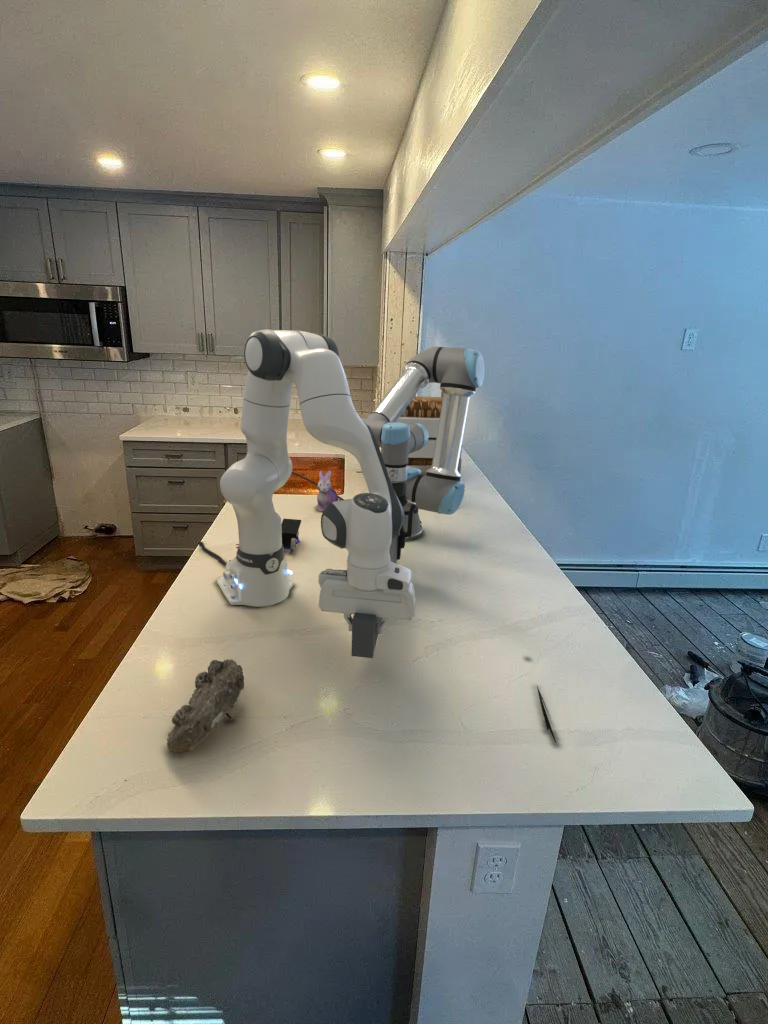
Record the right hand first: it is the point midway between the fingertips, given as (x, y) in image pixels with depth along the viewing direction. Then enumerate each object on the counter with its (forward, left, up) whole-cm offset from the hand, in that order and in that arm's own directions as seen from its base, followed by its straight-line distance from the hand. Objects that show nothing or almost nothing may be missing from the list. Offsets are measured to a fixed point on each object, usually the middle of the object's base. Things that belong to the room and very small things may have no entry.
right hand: (389, 556), depth 164 cm
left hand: (+30, -34, +3) cm, 45 cm away
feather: (+60, -10, -7) cm, 61 cm away
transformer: (-77, +87, -7) cm, 117 cm away
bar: (+15, -17, -1) cm, 23 cm away
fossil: (+24, -66, -7) cm, 71 cm away
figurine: (-60, +21, -7) cm, 64 cm away
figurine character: (-36, -11, -7) cm, 39 cm away
